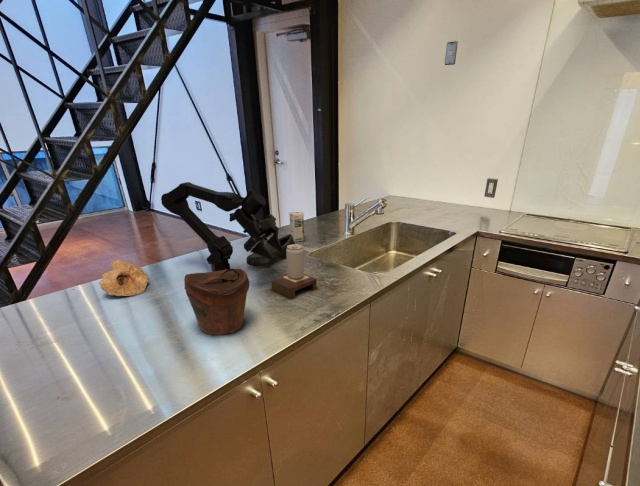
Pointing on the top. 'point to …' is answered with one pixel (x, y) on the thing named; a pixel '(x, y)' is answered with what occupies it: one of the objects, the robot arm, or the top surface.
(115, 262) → the tan lumpy piece
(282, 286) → the wooden display riser
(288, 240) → the loafer
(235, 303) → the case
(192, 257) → the top surface
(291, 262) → the beverage can
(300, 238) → the syrup box
